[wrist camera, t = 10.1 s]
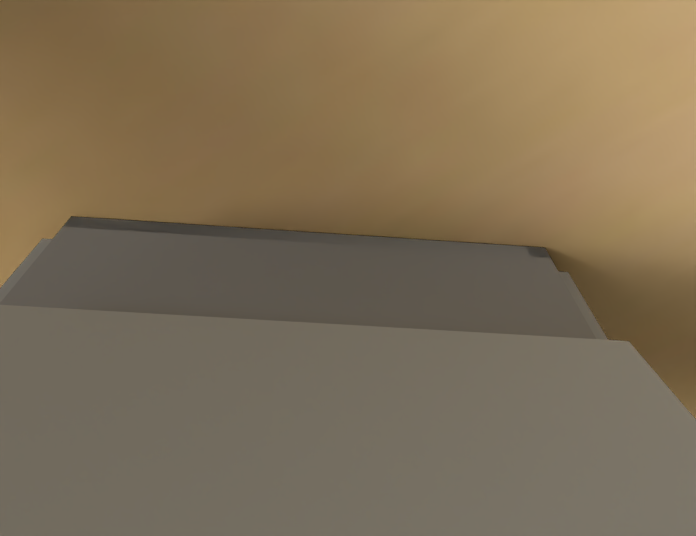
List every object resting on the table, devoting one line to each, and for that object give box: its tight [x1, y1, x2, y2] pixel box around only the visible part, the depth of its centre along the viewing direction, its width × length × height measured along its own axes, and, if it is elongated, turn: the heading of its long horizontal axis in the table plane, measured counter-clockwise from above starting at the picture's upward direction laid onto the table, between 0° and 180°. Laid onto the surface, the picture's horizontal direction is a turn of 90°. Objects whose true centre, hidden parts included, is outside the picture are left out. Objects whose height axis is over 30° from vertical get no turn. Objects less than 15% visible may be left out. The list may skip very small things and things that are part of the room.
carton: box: [0, 216, 608, 340], centre depth 20 cm, size 15×18×5 cm
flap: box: [0, 305, 696, 536], centre depth 8 cm, size 14×9×1 cm
